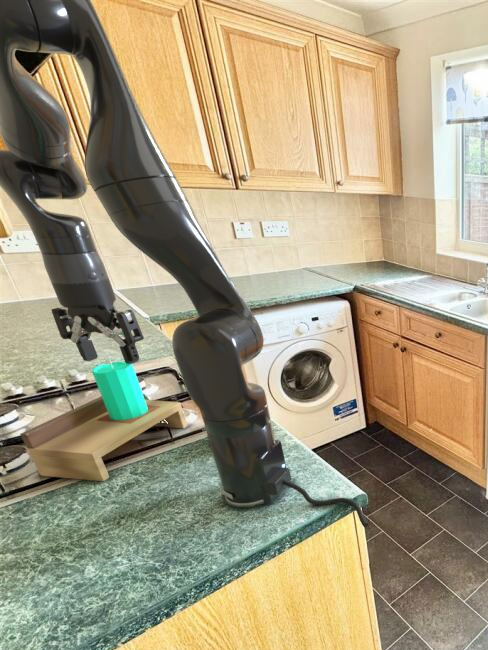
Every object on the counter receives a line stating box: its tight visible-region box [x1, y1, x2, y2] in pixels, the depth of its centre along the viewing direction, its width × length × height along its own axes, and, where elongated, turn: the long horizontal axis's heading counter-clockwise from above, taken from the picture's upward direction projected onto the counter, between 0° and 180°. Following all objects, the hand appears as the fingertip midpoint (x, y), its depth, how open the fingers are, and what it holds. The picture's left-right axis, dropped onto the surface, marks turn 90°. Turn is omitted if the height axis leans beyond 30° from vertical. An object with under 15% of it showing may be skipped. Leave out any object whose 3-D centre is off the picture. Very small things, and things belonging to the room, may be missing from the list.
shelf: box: [20, 395, 188, 482], centre depth 84 cm, size 12×20×9 cm, turn 176°
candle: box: [91, 358, 148, 420], centre depth 84 cm, size 6×6×12 cm
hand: (111, 361), depth 82 cm, fingers open, 8 cm apart
